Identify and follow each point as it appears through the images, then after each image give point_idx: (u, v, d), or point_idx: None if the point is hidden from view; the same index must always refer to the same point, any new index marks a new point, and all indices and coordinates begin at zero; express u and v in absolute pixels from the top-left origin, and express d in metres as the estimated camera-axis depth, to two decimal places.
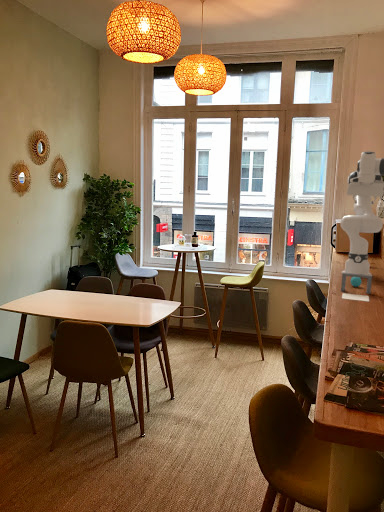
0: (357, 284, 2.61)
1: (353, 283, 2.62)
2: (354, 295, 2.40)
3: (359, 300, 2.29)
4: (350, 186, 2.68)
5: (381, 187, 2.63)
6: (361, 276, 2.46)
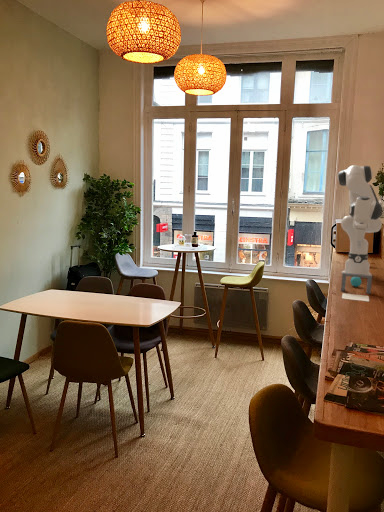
0: (357, 284, 2.61)
1: (353, 283, 2.62)
2: (354, 295, 2.40)
3: (359, 300, 2.29)
4: None
5: None
6: (361, 276, 2.46)
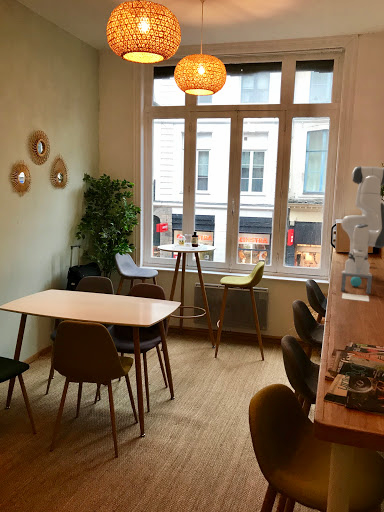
0: (357, 284, 2.61)
1: (353, 283, 2.62)
2: (354, 295, 2.40)
3: (359, 300, 2.29)
4: None
5: None
6: (361, 276, 2.46)
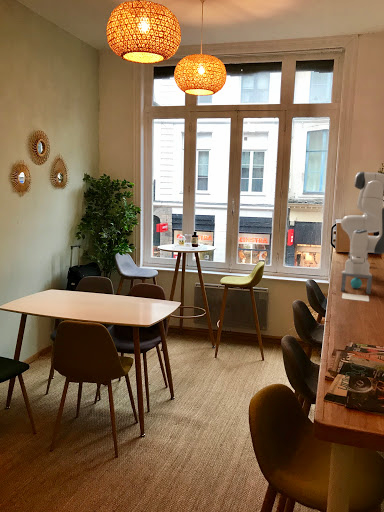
0: None
1: None
2: (354, 295, 2.40)
3: (359, 300, 2.29)
4: None
5: None
6: (361, 276, 2.46)
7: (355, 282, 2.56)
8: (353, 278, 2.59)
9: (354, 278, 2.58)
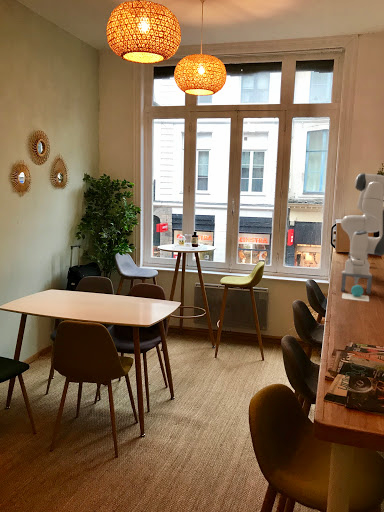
0: None
1: None
2: None
3: (359, 300, 2.29)
4: None
5: None
6: (361, 276, 2.46)
7: (355, 294, 2.37)
8: (354, 287, 2.37)
9: (355, 289, 2.36)
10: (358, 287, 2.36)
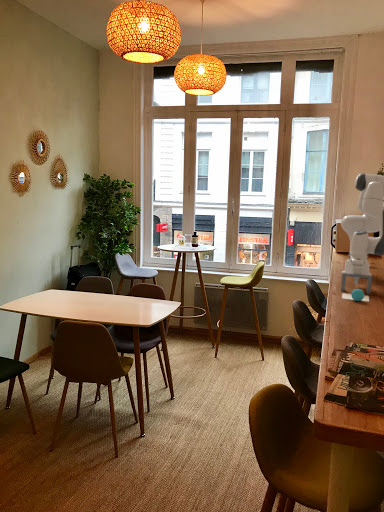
0: (359, 297, 2.26)
1: (354, 296, 2.27)
2: None
3: None
4: None
5: None
6: (361, 276, 2.46)
7: None
8: None
9: None
10: None
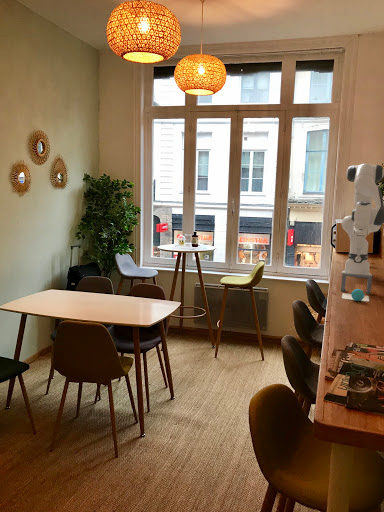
0: (359, 297, 2.26)
1: (354, 296, 2.27)
2: None
3: None
4: None
5: None
6: (361, 276, 2.46)
7: None
8: None
9: None
10: None
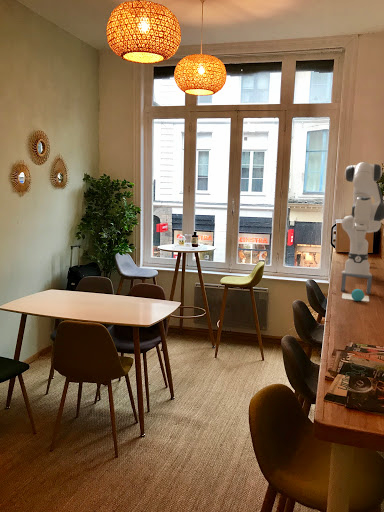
0: (359, 297, 2.26)
1: (354, 296, 2.27)
2: None
3: None
4: None
5: None
6: (361, 276, 2.46)
7: None
8: None
9: None
10: None
